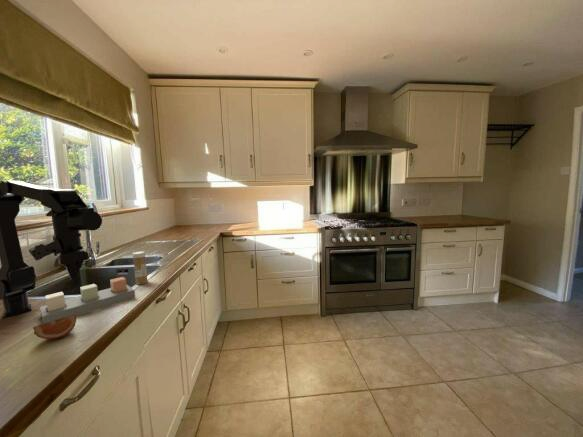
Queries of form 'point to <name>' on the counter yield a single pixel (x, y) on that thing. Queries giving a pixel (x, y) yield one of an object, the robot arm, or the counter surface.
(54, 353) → the counter surface
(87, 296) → the sage key
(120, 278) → the terracotta key
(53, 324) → the fruit slice
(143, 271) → the sprinkles bottle
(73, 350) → the counter surface
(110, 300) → the key panel
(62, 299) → the ivory key
